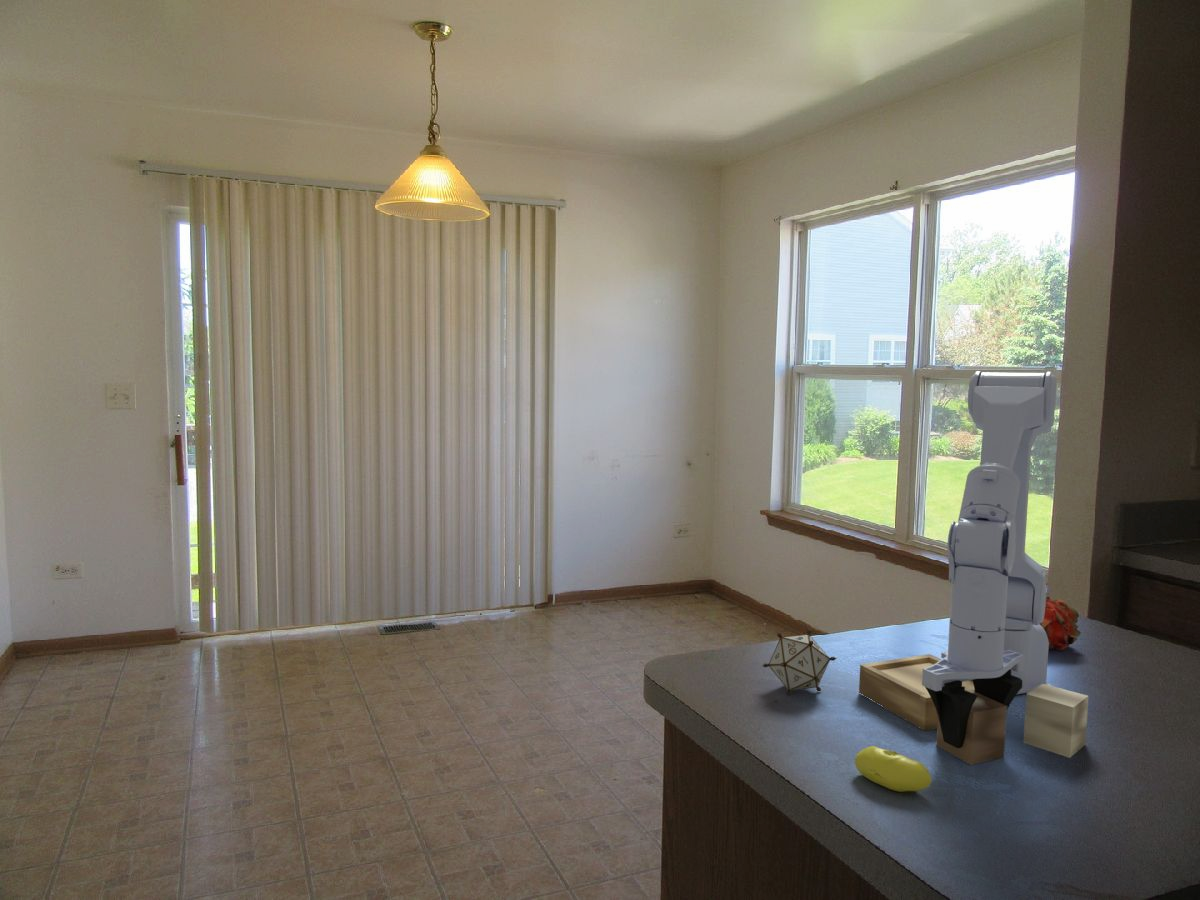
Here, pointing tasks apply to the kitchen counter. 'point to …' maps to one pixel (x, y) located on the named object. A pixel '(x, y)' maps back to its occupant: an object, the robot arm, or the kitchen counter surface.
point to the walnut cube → (980, 732)
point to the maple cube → (1056, 720)
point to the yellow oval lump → (892, 770)
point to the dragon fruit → (1060, 624)
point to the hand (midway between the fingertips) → (970, 739)
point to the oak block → (903, 688)
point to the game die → (799, 662)
